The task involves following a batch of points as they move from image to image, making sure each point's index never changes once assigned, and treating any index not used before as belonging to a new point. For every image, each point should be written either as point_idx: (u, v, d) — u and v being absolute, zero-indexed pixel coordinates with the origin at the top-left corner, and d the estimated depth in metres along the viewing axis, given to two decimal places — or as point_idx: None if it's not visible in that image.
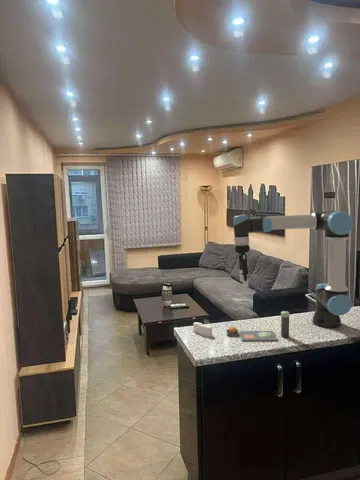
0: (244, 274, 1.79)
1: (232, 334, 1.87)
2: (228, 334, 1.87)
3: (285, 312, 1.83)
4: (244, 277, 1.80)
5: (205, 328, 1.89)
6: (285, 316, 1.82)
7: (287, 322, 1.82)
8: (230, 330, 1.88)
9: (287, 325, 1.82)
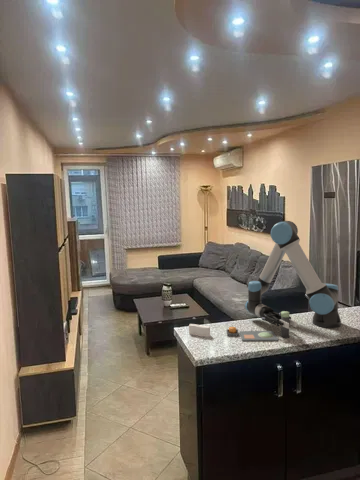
0: (276, 323, 1.84)
1: (232, 334, 1.87)
2: (228, 334, 1.87)
3: (285, 312, 1.83)
4: (279, 324, 1.82)
5: (204, 329, 1.88)
6: (285, 316, 1.82)
7: (287, 322, 1.82)
8: (230, 330, 1.88)
9: None
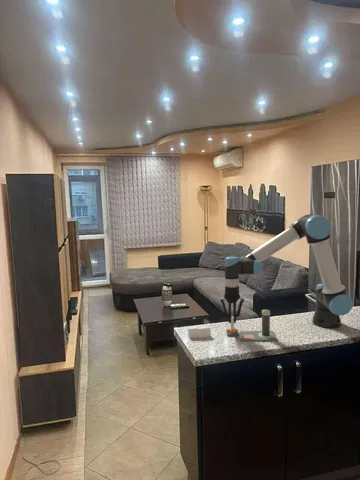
0: (236, 316, 1.89)
1: (232, 334, 1.87)
2: (228, 334, 1.87)
3: (266, 310, 1.84)
4: (235, 319, 1.89)
5: (205, 329, 1.87)
6: (265, 314, 1.82)
7: (268, 320, 1.83)
8: (230, 331, 1.89)
9: (267, 323, 1.83)
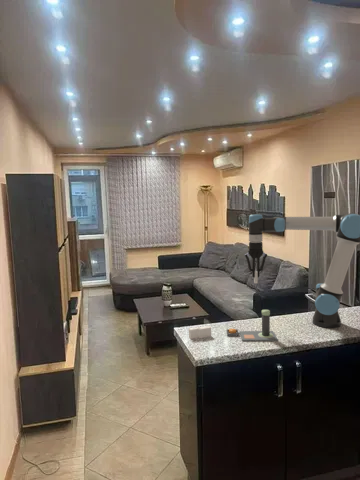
0: (259, 271, 2.00)
1: (232, 334, 1.87)
2: (228, 334, 1.87)
3: (265, 310, 1.84)
4: None
5: (206, 329, 1.87)
6: (265, 314, 1.82)
7: (268, 320, 1.83)
8: (230, 332, 1.89)
9: (267, 323, 1.83)
